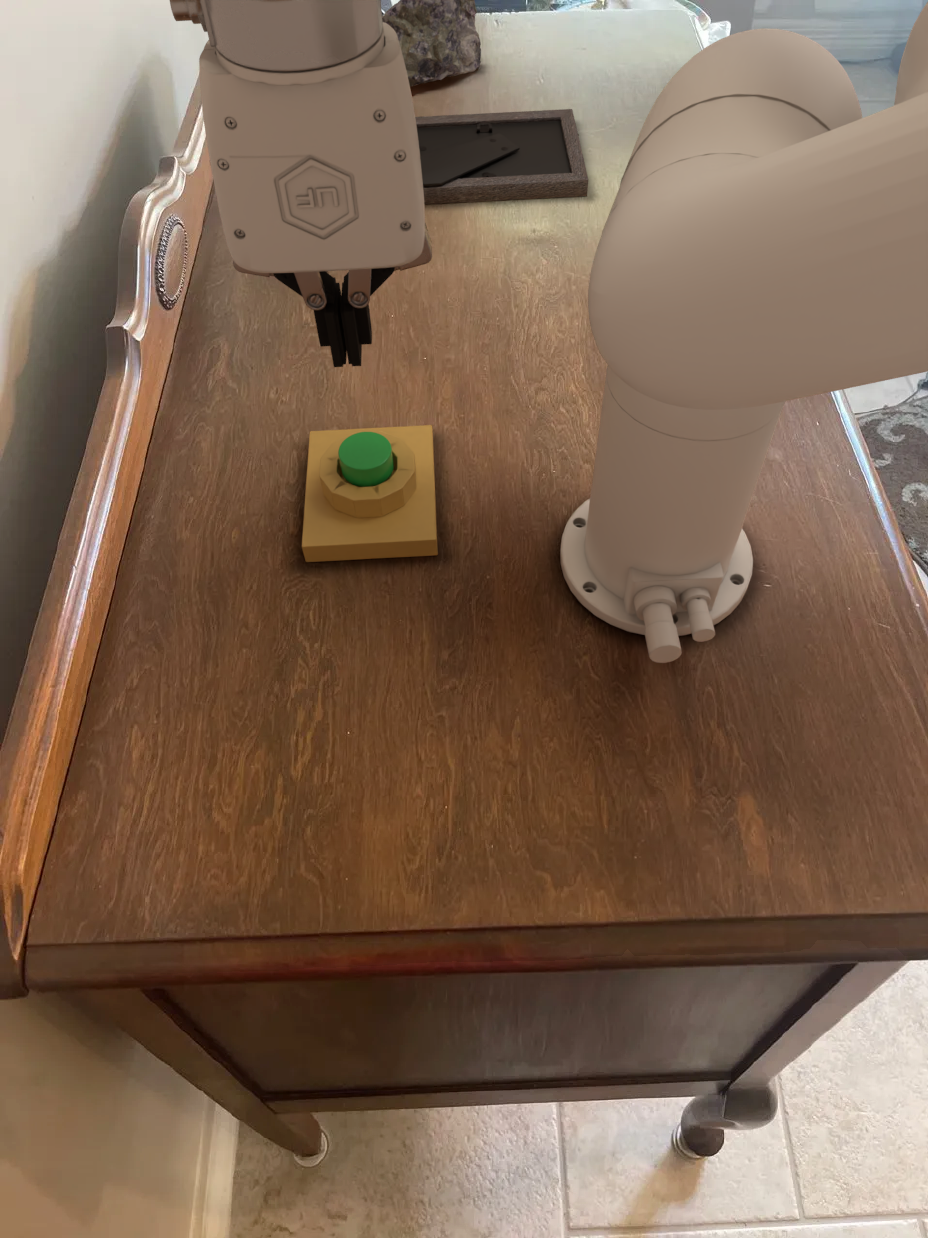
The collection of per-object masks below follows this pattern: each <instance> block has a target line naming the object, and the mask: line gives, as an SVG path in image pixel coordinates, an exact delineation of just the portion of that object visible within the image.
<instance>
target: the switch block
mask: <svg viewBox="0 0 928 1238" xmlns="http://www.w3.org/2000/svg"><path fill="white" fill-rule="evenodd" d="M360 432H375V433H378V434H381V435H383V436H384V437H385V438H387V439H388V441H389V442H390V444H391V447H392V455H393V463H394V469H393V472H392V474H391V476H390V477H389V478H388V479H387V480H386V481H385V482H383V483H381V484H379V485H376V486H372V487H359V486H355V485H353V484H351V483H349V482H348V481H347V480H346V479H345V478H344V477H343V475H342V471H341V466H340V460H339V455H338V451H339V447H340V445H341V443H342V442H343V441H344V440H345V439H346V438H348V437H349V436H351V435H353V434H356V433H360ZM433 432H434V431H433V424H426V425H425V424H424V425H423V424H421V425H406V426H405V425H404V426H388V427H387V426H385V427H366V428H365V427H363V428H349V429H348V428H345V429H327V430H310V431H309V435H308V437H309V438H308V451H307V467H306V481H305V492H304V495H305V496H304V506H303V507H304V508H303V521H302V537H301V549H302V554H303V556H304V560H305V563H316V562H317V563H318V562H335V561H353V560H371V559H372V560H375V559H392V558H393V559H394V558H395V559H396V558H410V557H411V558H412V557H432V556H433V557H434V556H438V554H439V552H438V526H437V524H438V523H437V501H436V500H437V499H436V475H435V452H434V451H435V448H434V435H433Z"/></svg>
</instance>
